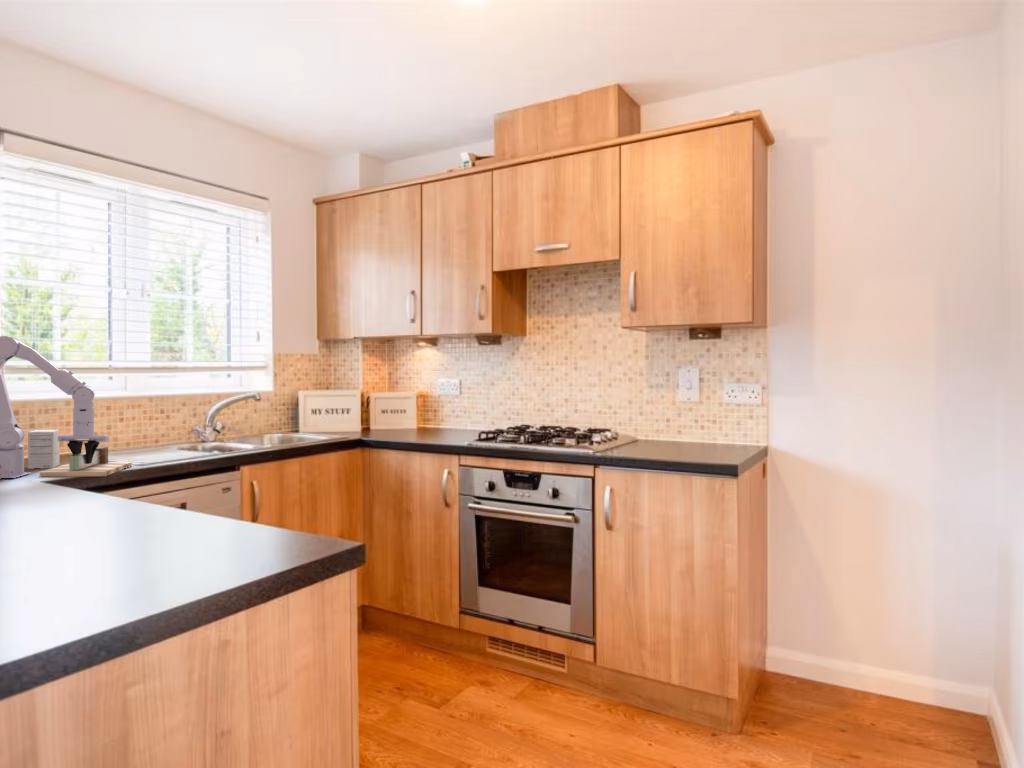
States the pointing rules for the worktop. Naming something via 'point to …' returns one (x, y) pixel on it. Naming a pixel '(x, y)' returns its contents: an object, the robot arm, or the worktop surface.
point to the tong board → (90, 467)
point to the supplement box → (43, 449)
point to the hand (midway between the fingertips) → (83, 463)
